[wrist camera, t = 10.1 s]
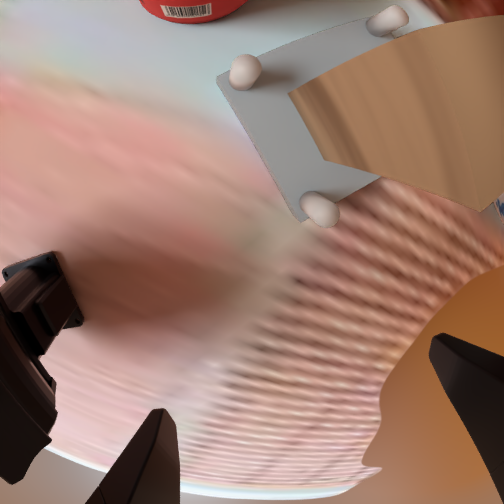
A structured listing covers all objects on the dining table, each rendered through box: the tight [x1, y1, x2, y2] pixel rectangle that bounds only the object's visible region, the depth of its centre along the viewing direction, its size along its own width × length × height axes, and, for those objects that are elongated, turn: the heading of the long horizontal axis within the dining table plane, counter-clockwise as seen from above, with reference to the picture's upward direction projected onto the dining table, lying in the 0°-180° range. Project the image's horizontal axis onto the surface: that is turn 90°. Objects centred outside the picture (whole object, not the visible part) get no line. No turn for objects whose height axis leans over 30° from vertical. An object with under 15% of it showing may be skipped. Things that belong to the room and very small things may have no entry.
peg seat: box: [216, 5, 409, 228], centre depth 15 cm, size 12×10×5 cm
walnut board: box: [288, 15, 504, 212], centre depth 10 cm, size 6×4×12 cm
